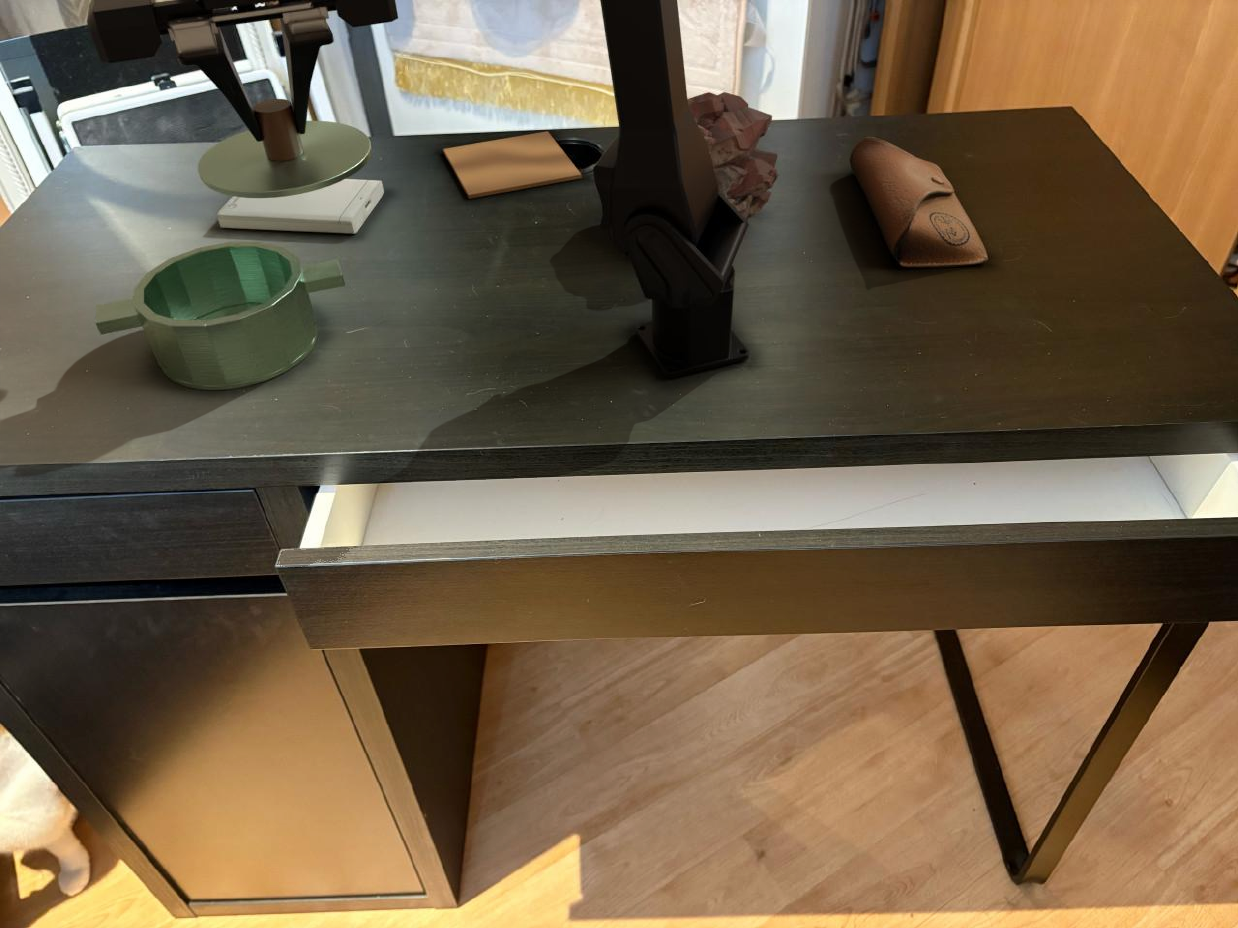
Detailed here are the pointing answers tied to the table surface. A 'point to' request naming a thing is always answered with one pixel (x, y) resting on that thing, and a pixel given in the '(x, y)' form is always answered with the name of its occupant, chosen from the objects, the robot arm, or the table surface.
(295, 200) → the hard drive
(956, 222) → the sunglasses case
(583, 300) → the table surface
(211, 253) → the green cooking pot
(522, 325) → the table surface
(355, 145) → the tin lid
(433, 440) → the table surface
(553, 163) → the coaster pad
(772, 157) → the mineral specimen
